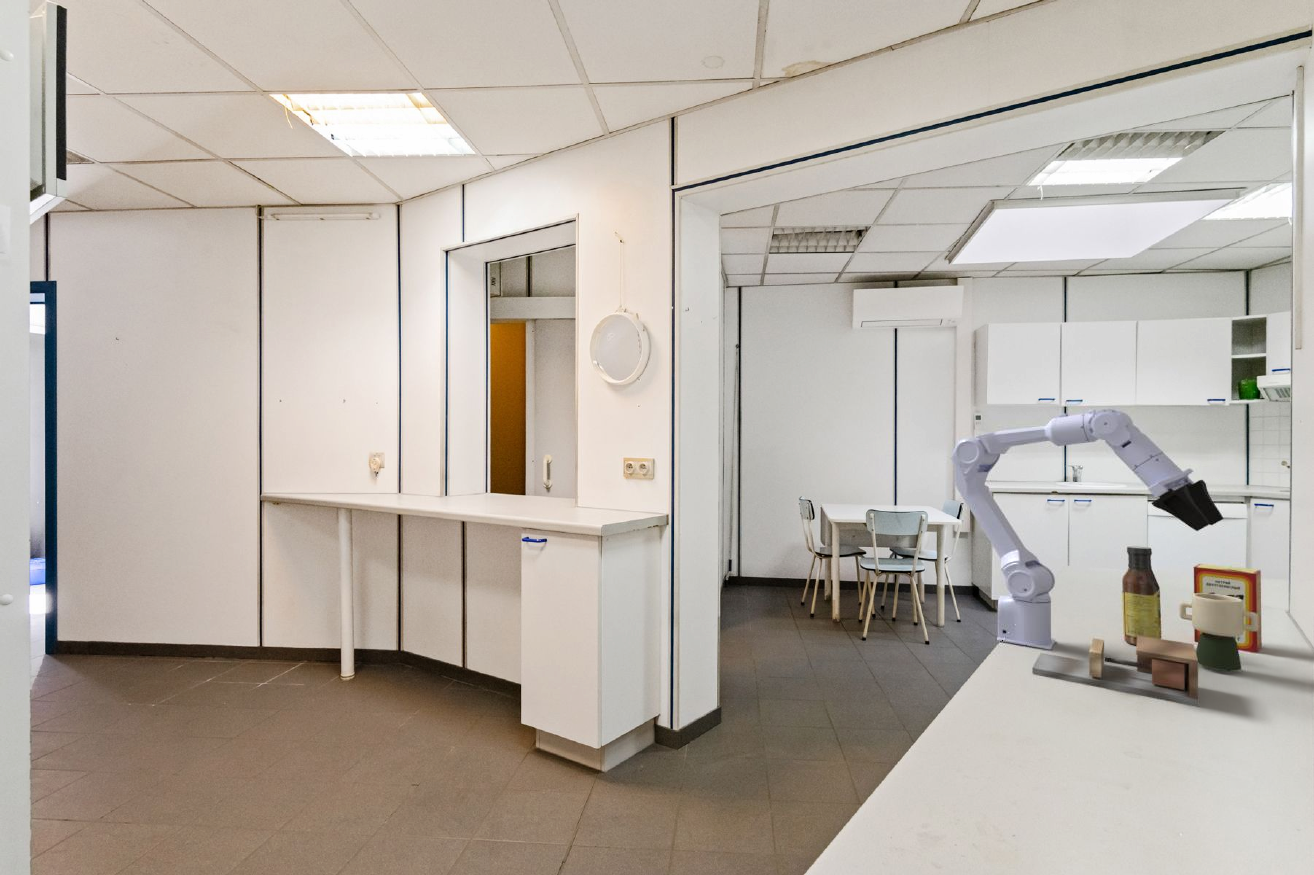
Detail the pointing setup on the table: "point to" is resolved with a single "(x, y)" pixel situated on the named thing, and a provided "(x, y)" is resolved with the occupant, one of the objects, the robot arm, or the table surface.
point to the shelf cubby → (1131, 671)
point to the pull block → (1161, 669)
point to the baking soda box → (1234, 585)
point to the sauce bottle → (1140, 597)
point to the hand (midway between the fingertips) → (1210, 525)
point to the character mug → (1218, 628)
